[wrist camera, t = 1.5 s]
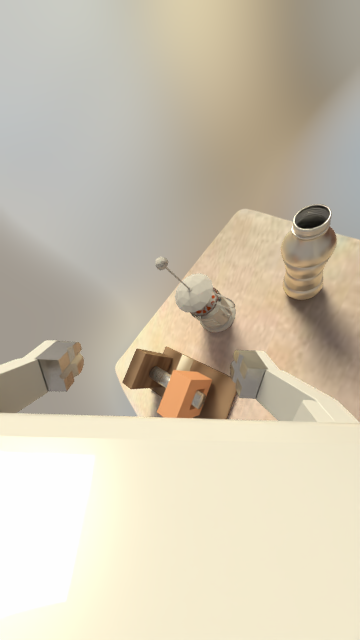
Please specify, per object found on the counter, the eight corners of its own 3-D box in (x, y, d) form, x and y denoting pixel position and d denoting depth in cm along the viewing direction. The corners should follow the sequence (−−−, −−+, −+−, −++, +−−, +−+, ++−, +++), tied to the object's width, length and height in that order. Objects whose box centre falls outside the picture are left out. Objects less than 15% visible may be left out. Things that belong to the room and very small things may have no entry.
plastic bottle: (308, 308, 35) (326, 248, 19) (276, 294, 39) (268, 233, 23) (328, 282, 35) (365, 196, 19) (294, 270, 39) (299, 190, 22)
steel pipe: (207, 393, 35) (201, 394, 33) (202, 408, 35) (195, 410, 33) (155, 363, 44) (147, 362, 41) (150, 375, 44) (142, 374, 41)
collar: (212, 379, 39) (191, 379, 30) (199, 414, 38) (173, 425, 29) (197, 371, 41) (173, 369, 32) (184, 404, 40) (156, 412, 32)
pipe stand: (240, 381, 38) (223, 382, 28) (220, 435, 37) (196, 456, 27) (168, 347, 50) (138, 339, 40) (151, 387, 49) (117, 389, 39)
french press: (206, 293, 49) (146, 231, 28) (248, 300, 42) (212, 226, 22) (194, 326, 48) (123, 287, 27) (235, 339, 41) (184, 300, 21)
